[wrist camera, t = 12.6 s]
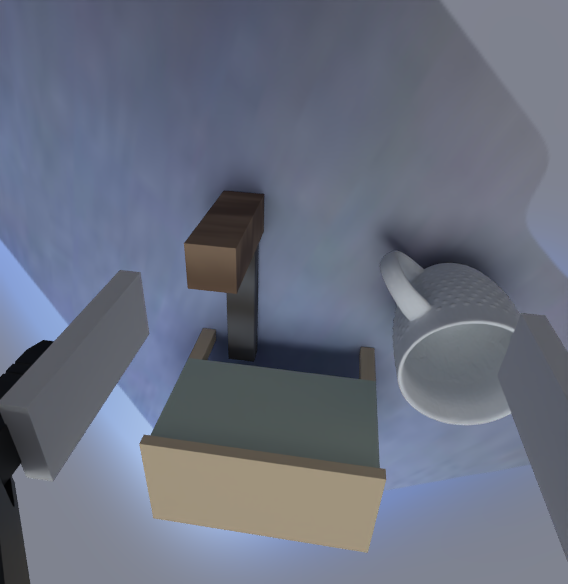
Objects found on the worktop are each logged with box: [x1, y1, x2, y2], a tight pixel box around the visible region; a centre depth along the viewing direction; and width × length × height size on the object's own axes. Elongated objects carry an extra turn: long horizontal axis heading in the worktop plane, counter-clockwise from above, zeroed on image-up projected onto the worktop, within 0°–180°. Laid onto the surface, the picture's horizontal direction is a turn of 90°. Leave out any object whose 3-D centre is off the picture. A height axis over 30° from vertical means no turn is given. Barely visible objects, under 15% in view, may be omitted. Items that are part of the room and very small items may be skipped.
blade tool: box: [184, 191, 264, 362], centre depth 45 cm, size 20×4×12 cm, turn 178°
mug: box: [380, 251, 520, 425], centre depth 41 cm, size 15×11×13 cm
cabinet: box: [140, 328, 386, 552], centre depth 48 cm, size 12×21×18 cm, turn 88°
